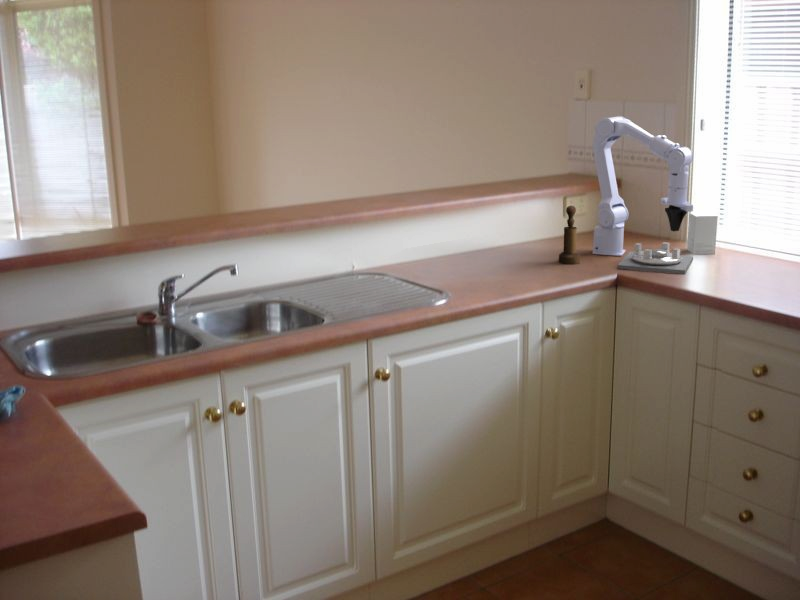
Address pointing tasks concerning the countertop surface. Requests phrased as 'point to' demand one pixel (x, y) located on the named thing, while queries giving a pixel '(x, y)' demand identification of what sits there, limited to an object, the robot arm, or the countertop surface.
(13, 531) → the countertop surface
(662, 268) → the cap plate
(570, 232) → the brown chess piece
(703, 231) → the supplement box
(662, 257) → the domed lug disc
